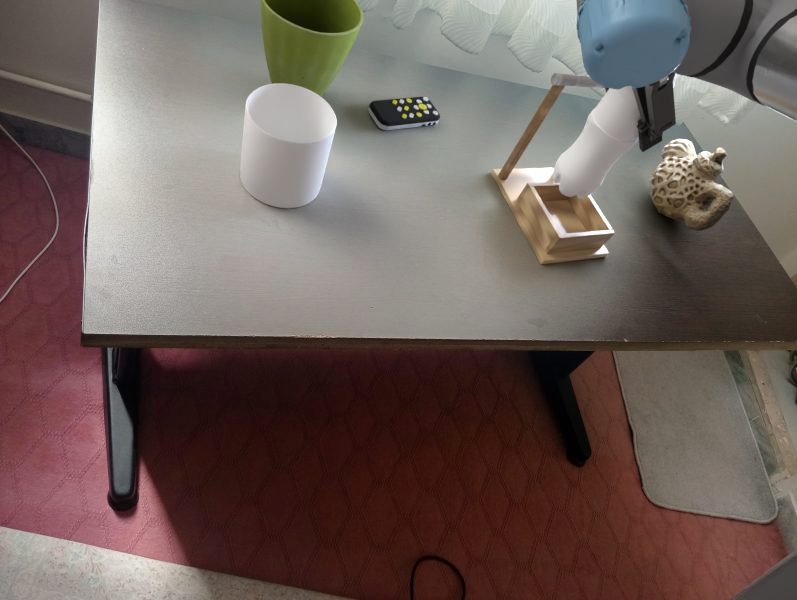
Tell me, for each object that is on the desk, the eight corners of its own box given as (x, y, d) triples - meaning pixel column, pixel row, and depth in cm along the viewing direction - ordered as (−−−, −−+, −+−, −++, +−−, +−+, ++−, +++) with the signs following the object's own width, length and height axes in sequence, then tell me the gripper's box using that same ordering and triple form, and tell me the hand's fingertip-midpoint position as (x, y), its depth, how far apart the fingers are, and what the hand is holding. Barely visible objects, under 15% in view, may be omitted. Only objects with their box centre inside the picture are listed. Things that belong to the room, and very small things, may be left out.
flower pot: (352, 90, 96) (375, 2, 83) (324, 138, 87) (345, 47, 74) (272, 55, 94) (284, -40, 82) (235, 100, 85) (242, 1, 73)
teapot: (623, 165, 108) (676, 104, 97) (671, 177, 111) (727, 118, 100) (654, 248, 97) (718, 189, 85) (707, 258, 100) (775, 203, 88)
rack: (608, 256, 91) (700, 163, 75) (538, 264, 85) (621, 165, 68) (555, 171, 100) (626, 71, 84) (488, 173, 94) (551, 65, 77)
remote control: (364, 108, 94) (367, 98, 92) (424, 102, 100) (427, 93, 98) (380, 132, 91) (383, 123, 90) (440, 125, 98) (444, 116, 96)
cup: (295, 143, 84) (308, 77, 74) (335, 196, 80) (353, 133, 71) (225, 160, 78) (228, 89, 68) (264, 218, 74) (274, 152, 65)
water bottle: (553, 200, 77) (675, 39, 58) (541, 165, 81) (652, 3, 61) (595, 207, 79) (727, 54, 60) (582, 172, 83) (701, 18, 64)
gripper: (541, -38, 58) (571, 91, 78) (645, 84, 49) (649, 194, 69) (606, -85, 56) (620, 60, 76) (726, 33, 48) (706, 161, 67)
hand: (634, 124), depth 73 cm, fingers closed on water bottle, 7 cm apart
